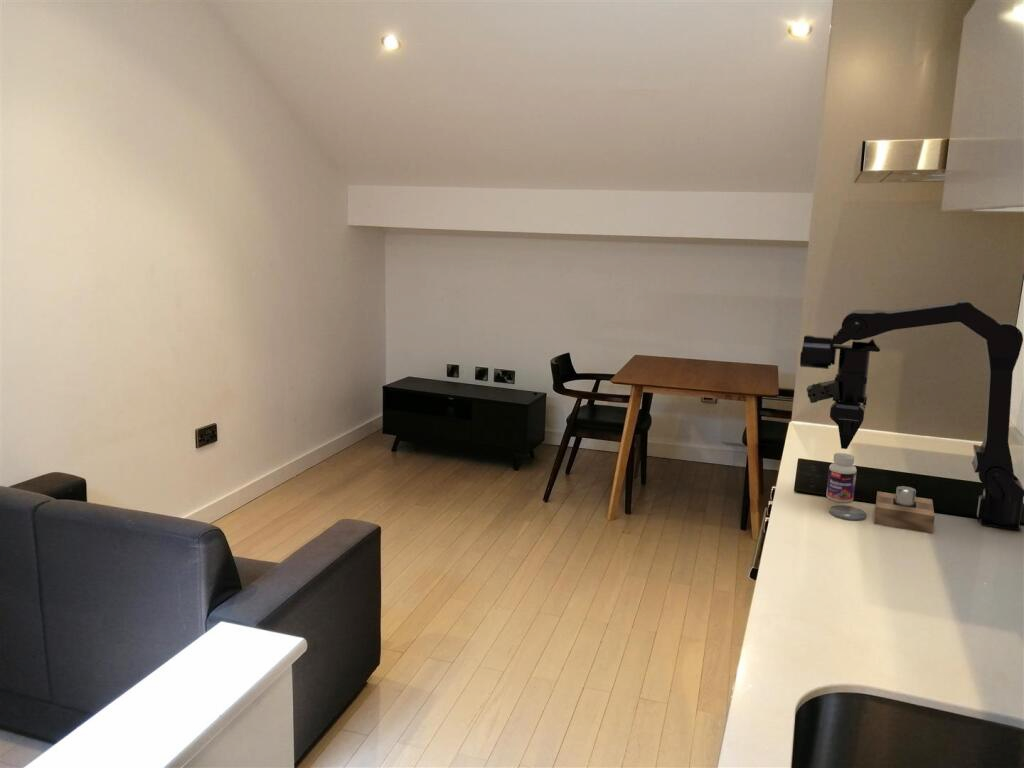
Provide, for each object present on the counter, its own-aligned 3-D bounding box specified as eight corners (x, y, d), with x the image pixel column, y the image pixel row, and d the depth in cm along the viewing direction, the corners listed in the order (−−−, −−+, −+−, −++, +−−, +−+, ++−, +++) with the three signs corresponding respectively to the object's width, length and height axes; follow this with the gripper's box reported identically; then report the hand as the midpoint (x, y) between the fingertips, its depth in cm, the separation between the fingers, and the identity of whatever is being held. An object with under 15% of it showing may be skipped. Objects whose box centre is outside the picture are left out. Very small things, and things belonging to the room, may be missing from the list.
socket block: (930, 515, 149) (932, 499, 148) (932, 533, 140) (934, 515, 140) (875, 507, 154) (877, 491, 153) (874, 523, 145) (876, 506, 144)
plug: (912, 516, 148) (915, 487, 146) (912, 521, 145) (916, 493, 144) (893, 513, 149) (896, 485, 148) (893, 518, 146) (896, 490, 145)
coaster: (867, 511, 151) (867, 508, 151) (865, 523, 145) (866, 520, 145) (830, 505, 154) (830, 502, 154) (827, 516, 148) (827, 514, 148)
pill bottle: (824, 500, 157) (829, 457, 155) (827, 492, 162) (831, 450, 160) (852, 504, 155) (857, 460, 153) (854, 497, 160) (858, 454, 158)
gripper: (815, 361, 165) (809, 428, 168) (806, 374, 148) (800, 449, 151) (870, 365, 160) (863, 434, 163) (867, 380, 143) (859, 456, 146)
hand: (845, 443), depth 156 cm, fingers open, 9 cm apart
